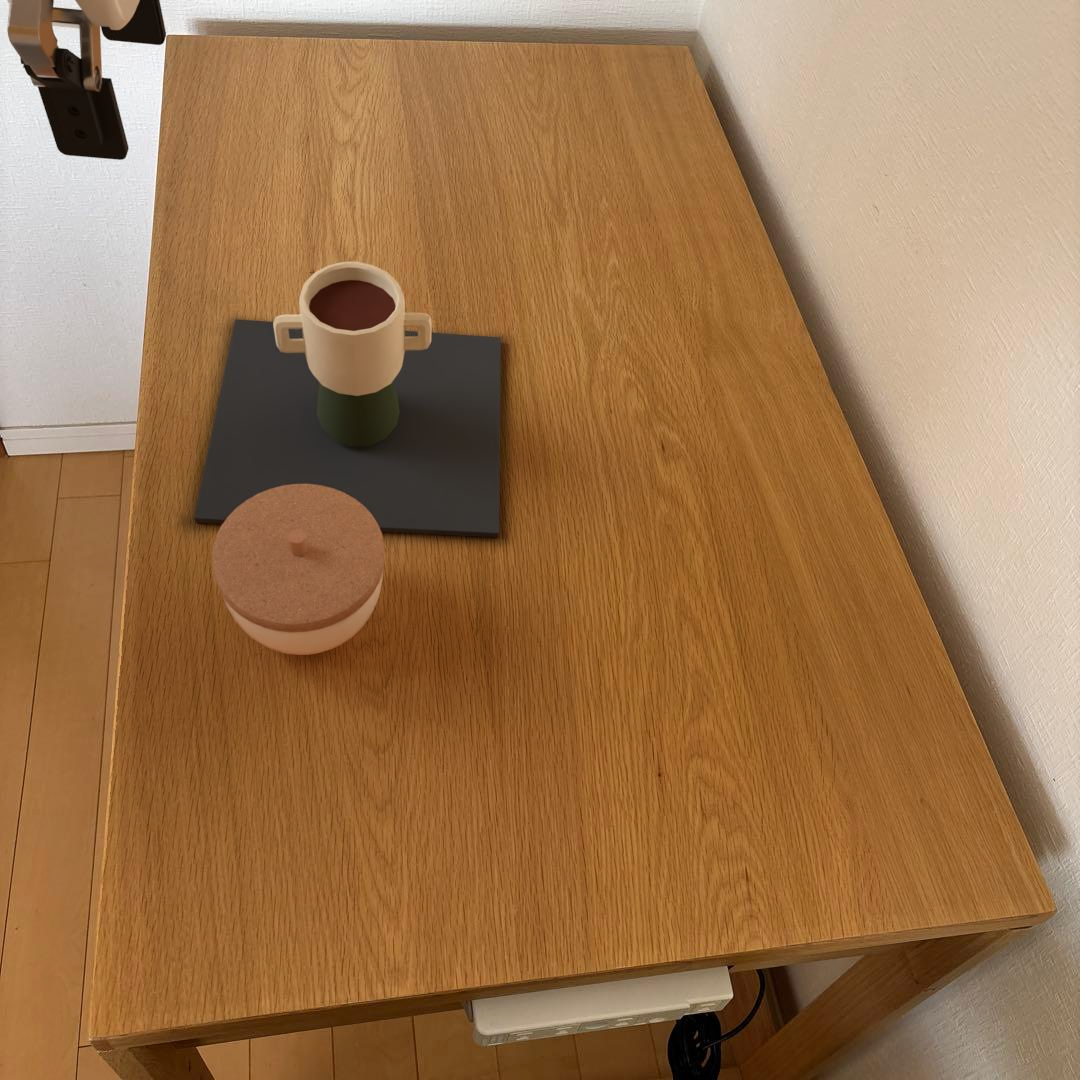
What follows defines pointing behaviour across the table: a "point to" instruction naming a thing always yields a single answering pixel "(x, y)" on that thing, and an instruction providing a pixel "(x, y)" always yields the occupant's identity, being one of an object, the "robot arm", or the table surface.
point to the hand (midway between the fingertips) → (116, 94)
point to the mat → (366, 471)
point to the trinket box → (300, 567)
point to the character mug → (354, 347)
